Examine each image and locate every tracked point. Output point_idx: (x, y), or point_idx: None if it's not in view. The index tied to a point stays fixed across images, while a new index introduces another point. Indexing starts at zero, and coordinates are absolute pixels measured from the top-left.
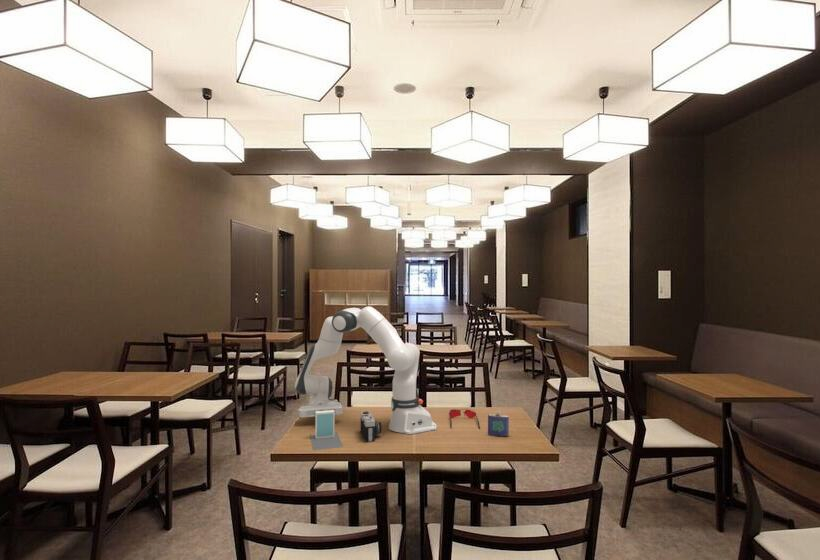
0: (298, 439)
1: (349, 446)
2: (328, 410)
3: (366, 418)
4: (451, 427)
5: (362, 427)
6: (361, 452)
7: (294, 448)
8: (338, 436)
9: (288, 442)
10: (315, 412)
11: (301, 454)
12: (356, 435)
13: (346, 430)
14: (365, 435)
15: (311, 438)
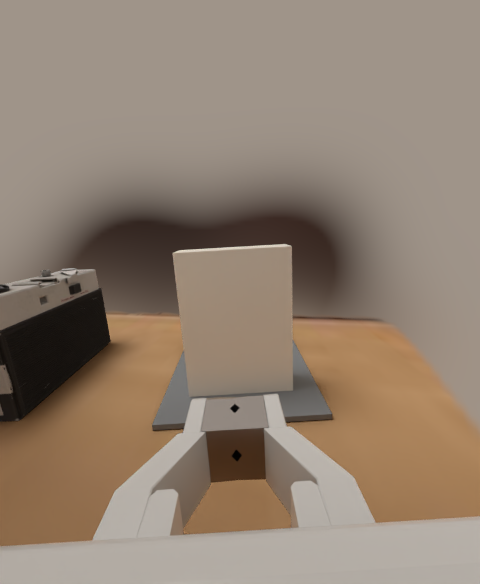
0: (382, 387)
1: (171, 334)
2: (207, 251)
3: (71, 271)
4: None
5: (60, 338)
6: (160, 316)
7: (352, 335)
8: (173, 380)
9: (414, 368)
10: (291, 251)
11: (313, 317)
12: (78, 392)
13: (57, 471)
14: (103, 320)
15: (308, 375)
